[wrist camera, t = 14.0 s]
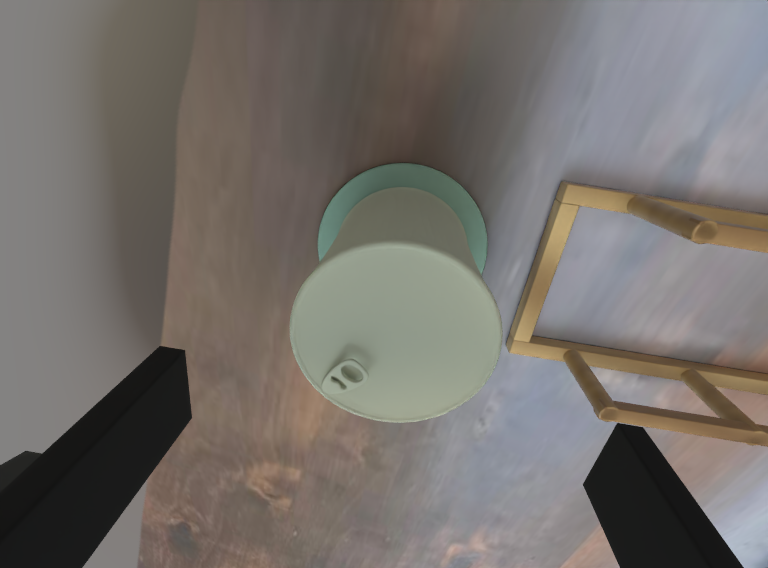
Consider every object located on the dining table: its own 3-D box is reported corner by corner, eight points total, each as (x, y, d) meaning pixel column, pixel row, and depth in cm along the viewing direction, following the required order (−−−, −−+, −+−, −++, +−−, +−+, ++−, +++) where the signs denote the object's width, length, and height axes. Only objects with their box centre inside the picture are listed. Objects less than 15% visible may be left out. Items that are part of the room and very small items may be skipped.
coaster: (325, 149, 24) (324, 149, 24) (507, 178, 24) (509, 179, 24) (313, 308, 29) (312, 311, 29) (464, 333, 29) (464, 336, 29)
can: (310, 245, 27) (239, 336, 16) (408, 156, 24) (405, 190, 13) (395, 331, 29) (384, 461, 18) (494, 259, 26) (552, 363, 15)
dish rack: (560, 180, 24) (616, 204, 18) (977, 247, 24) (1188, 297, 17) (505, 344, 29) (531, 409, 23) (846, 400, 29) (970, 481, 23)
